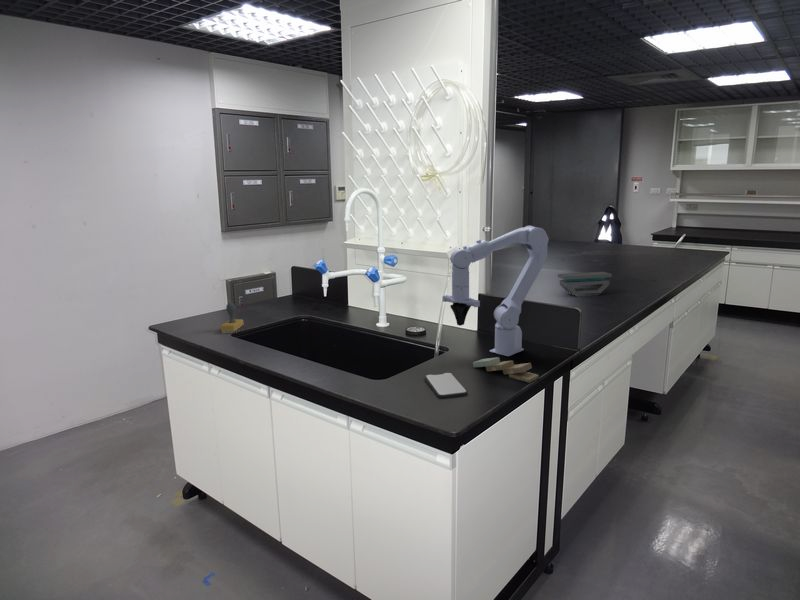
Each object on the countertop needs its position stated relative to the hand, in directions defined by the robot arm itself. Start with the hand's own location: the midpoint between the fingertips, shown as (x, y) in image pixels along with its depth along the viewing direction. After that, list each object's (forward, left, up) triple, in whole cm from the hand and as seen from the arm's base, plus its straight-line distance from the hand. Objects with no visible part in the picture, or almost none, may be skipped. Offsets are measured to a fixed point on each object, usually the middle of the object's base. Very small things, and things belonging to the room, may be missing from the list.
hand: (460, 324), depth 177 cm
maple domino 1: (+5, +17, -10) cm, 20 cm away
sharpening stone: (-116, -14, -11) cm, 117 cm away
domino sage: (+5, +12, -10) cm, 16 cm away
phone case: (+26, +16, -11) cm, 32 cm away
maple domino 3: (+5, +25, -10) cm, 27 cm away
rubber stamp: (+38, -91, -11) cm, 99 cm away
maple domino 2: (+5, +22, -9) cm, 25 cm away
